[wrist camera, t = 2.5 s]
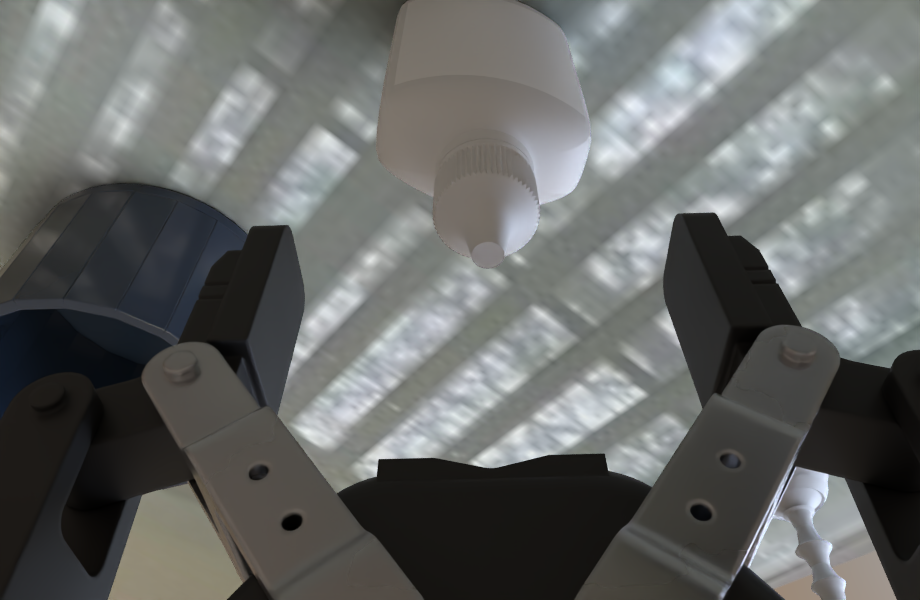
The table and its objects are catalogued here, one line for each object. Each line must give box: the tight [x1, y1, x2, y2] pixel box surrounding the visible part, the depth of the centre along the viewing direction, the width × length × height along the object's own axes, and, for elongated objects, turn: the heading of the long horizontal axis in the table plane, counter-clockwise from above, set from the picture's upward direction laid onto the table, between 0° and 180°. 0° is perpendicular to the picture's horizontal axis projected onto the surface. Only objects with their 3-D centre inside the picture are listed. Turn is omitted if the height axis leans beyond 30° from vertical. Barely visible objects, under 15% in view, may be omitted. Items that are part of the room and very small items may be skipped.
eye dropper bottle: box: [376, 0, 591, 269], centre depth 20 cm, size 4×6×12 cm
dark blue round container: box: [0, 184, 248, 490], centre depth 28 cm, size 10×10×7 cm
